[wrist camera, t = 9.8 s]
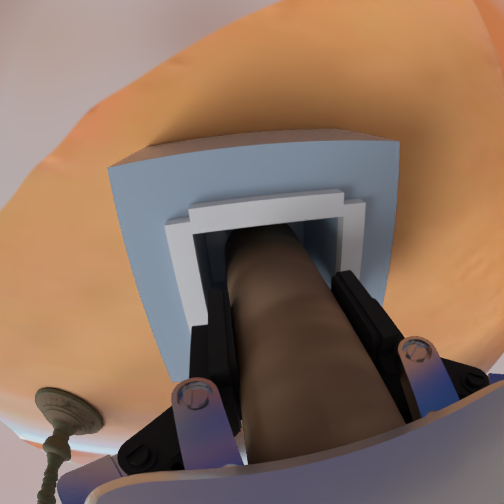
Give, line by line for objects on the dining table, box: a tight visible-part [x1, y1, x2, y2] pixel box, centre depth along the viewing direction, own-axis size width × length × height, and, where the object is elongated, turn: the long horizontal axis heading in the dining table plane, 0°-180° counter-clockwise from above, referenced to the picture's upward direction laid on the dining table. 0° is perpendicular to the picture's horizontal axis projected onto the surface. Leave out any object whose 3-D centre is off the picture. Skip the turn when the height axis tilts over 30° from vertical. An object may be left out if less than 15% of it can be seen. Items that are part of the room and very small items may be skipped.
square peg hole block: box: [108, 129, 400, 382], centre depth 16 cm, size 12×12×8 cm
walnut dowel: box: [225, 223, 406, 465], centre depth 10 cm, size 4×4×14 cm
